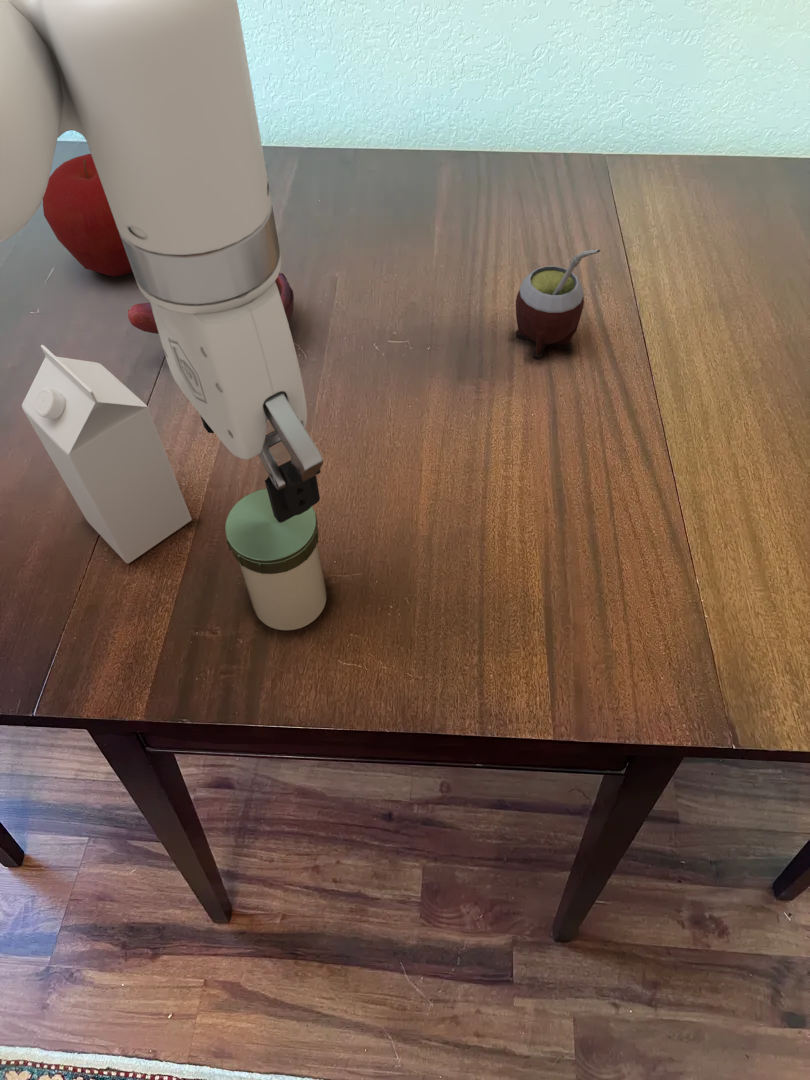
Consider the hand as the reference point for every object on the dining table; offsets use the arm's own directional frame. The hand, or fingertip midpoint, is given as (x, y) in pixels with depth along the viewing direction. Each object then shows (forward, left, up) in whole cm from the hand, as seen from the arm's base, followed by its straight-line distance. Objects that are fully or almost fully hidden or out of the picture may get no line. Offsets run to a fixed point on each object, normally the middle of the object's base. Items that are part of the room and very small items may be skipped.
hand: (260, 464), depth 53 cm
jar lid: (0, 0, -7) cm, 7 cm away
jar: (0, 0, -18) cm, 18 cm away
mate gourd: (+29, +30, -18) cm, 45 cm away
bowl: (-6, +34, -18) cm, 39 cm away
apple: (-20, +50, -18) cm, 57 cm away
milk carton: (-14, +10, -18) cm, 25 cm away
